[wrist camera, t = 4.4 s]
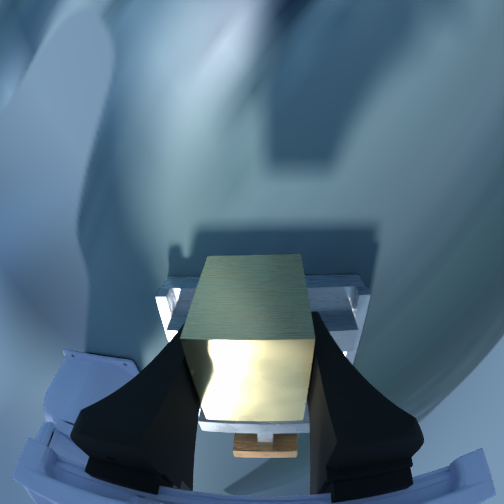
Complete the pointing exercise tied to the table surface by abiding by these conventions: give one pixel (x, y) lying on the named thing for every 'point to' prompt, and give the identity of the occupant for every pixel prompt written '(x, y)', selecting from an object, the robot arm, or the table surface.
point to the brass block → (251, 338)
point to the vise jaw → (260, 435)
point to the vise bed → (311, 282)
